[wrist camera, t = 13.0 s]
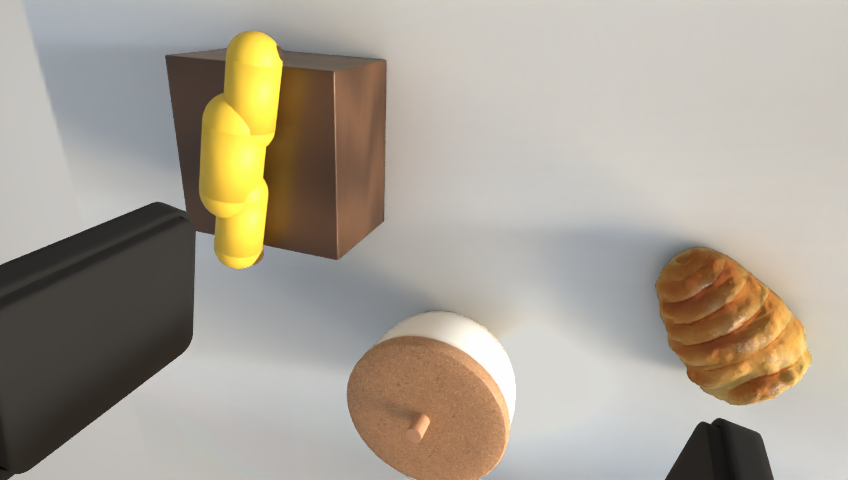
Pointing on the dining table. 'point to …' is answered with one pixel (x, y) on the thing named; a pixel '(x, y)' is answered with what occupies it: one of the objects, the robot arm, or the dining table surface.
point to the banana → (240, 147)
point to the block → (299, 147)
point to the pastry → (730, 328)
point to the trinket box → (435, 397)
